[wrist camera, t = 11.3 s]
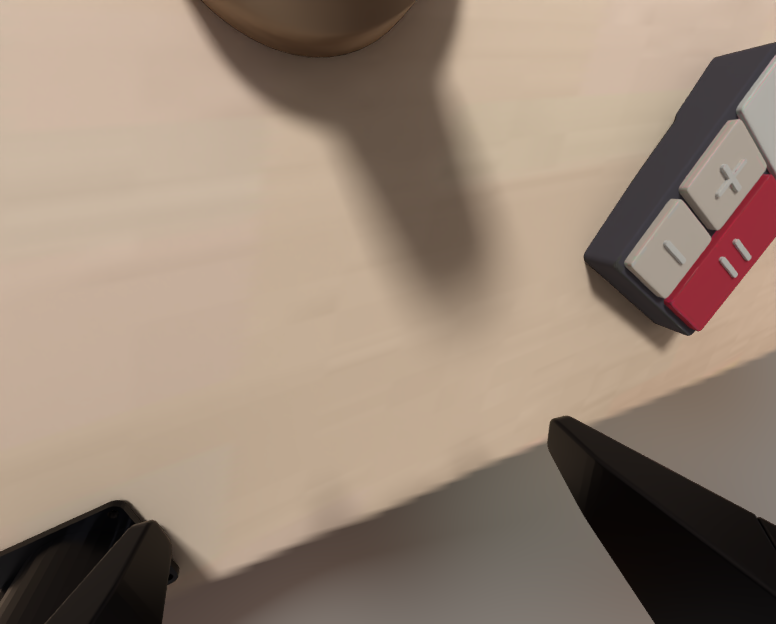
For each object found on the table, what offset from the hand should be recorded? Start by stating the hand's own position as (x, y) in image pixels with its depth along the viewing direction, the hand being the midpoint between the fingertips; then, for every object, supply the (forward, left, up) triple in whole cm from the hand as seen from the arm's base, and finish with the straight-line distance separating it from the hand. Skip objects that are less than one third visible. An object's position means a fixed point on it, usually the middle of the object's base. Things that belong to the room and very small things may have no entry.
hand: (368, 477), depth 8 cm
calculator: (+28, -3, -13) cm, 31 cm away
